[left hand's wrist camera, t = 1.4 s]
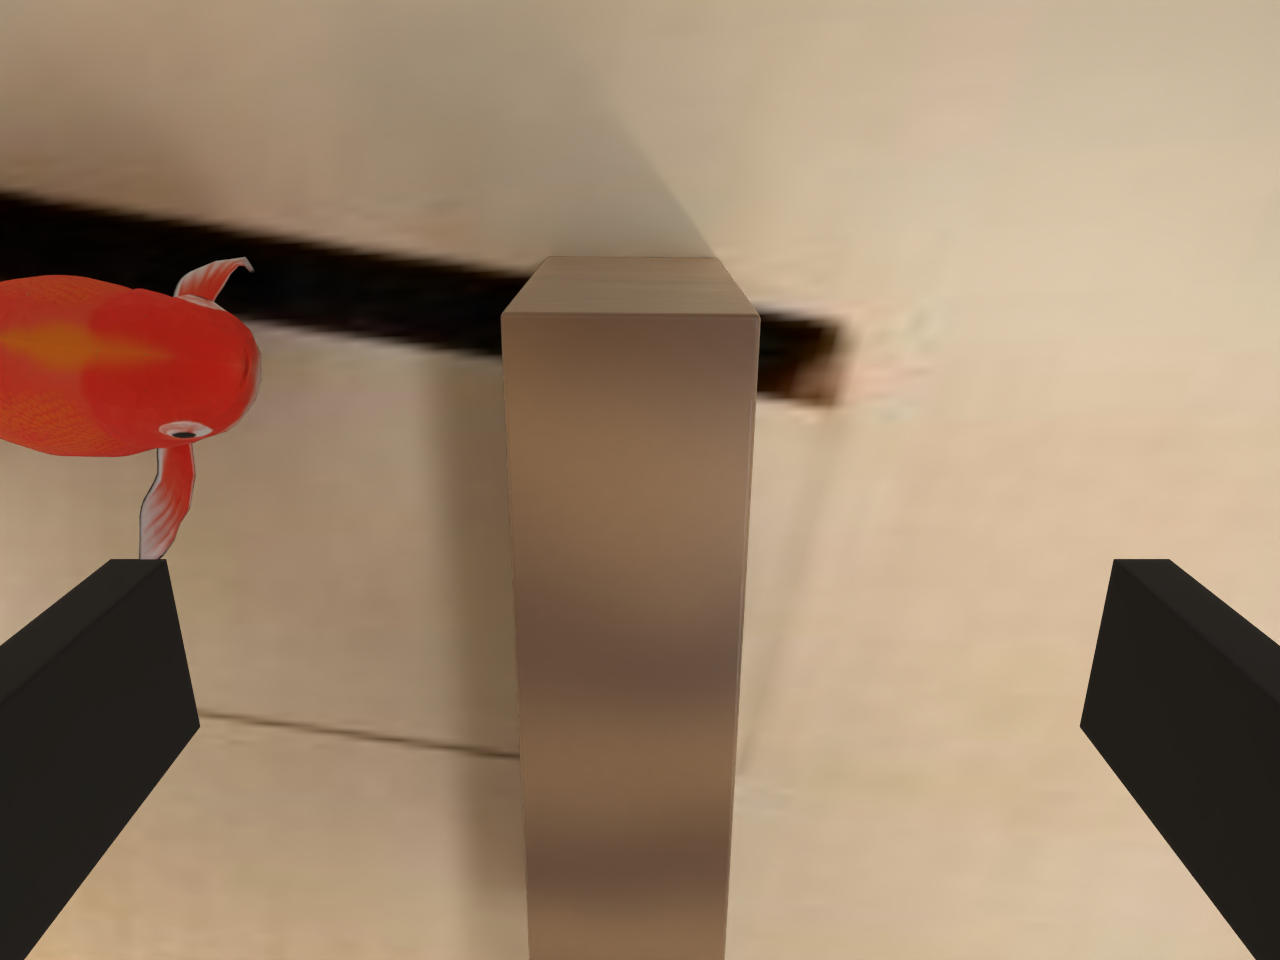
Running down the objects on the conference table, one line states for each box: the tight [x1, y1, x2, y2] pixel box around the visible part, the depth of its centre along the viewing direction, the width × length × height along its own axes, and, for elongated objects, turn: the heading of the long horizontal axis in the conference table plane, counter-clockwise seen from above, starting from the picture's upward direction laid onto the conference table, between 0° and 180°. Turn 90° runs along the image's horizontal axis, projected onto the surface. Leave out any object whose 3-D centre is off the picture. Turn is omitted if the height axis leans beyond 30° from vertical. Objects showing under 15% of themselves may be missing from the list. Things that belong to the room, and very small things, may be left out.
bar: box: [501, 257, 761, 960], centre depth 24 cm, size 22×5×9 cm, turn 179°
